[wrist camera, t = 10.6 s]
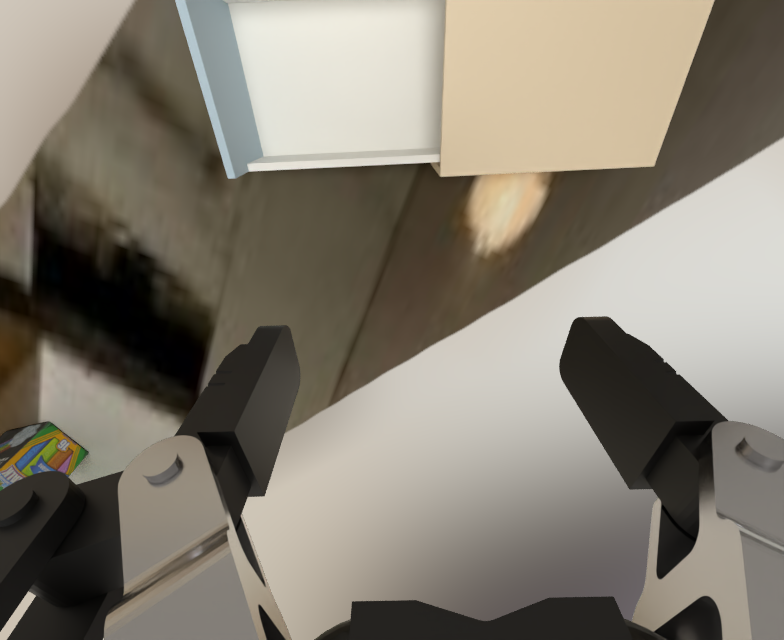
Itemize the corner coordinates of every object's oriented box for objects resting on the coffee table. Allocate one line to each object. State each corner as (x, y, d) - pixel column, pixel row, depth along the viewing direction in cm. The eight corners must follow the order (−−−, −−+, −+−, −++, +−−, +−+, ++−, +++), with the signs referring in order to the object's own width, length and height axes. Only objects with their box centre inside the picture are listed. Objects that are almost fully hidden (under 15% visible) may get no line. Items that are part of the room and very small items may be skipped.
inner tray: (538, -22, 26) (594, -66, 19) (513, 150, 32) (548, 162, 26) (220, -5, 26) (162, -43, 19) (260, 162, 32) (228, 178, 26)
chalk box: (49, 461, 60) (-38, 554, 48) (4, 430, 55) (-106, 525, 43) (92, 452, 59) (14, 545, 46) (50, 419, 54) (-50, 514, 41)
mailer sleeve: (664, -43, 26) (745, -85, 20) (607, 155, 34) (653, 166, 28) (434, -31, 26) (449, -70, 20) (430, 163, 34) (440, 176, 28)
